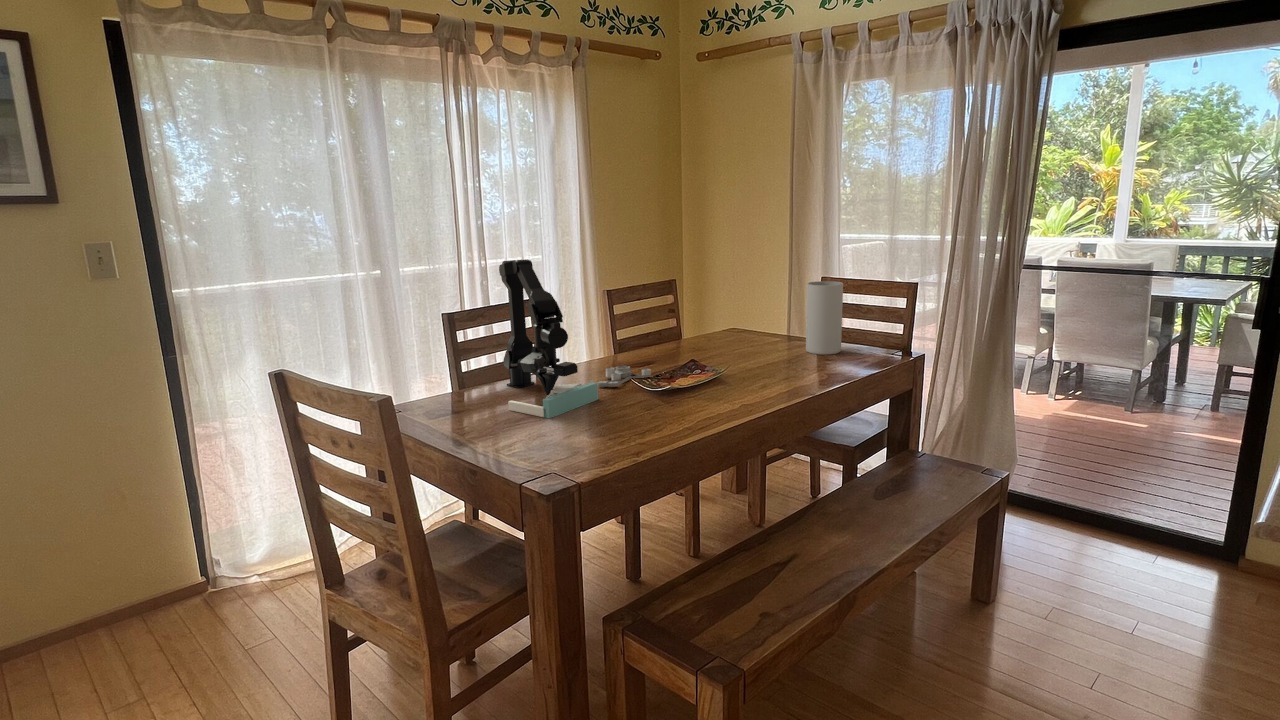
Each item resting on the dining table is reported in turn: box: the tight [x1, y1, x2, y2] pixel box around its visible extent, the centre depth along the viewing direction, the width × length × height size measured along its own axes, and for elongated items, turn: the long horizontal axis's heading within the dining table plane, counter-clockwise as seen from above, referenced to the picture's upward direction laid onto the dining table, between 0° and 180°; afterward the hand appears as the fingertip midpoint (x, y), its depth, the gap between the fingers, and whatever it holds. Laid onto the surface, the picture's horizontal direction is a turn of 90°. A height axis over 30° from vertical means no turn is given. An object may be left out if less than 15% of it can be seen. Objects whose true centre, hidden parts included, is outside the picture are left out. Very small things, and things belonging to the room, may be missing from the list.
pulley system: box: [597, 365, 665, 389], centre depth 229 cm, size 27×5×15 cm
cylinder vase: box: [805, 280, 844, 356], centre depth 257 cm, size 12×12×25 cm
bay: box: [508, 381, 599, 419], centre depth 203 cm, size 16×21×5 cm
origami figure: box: [546, 383, 582, 398], centre depth 205 cm, size 12×8×5 cm
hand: (548, 395), depth 204 cm, fingers closed
